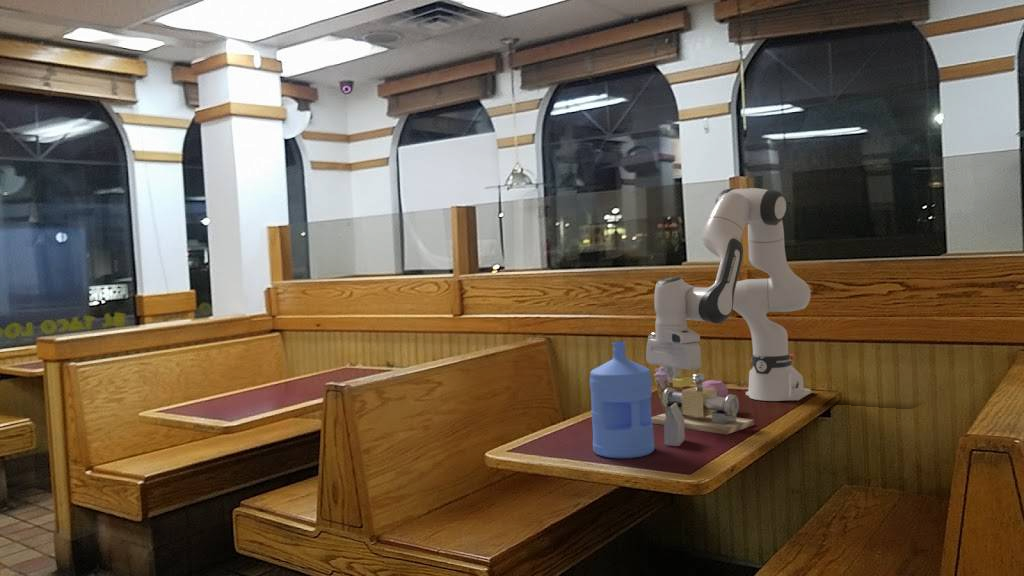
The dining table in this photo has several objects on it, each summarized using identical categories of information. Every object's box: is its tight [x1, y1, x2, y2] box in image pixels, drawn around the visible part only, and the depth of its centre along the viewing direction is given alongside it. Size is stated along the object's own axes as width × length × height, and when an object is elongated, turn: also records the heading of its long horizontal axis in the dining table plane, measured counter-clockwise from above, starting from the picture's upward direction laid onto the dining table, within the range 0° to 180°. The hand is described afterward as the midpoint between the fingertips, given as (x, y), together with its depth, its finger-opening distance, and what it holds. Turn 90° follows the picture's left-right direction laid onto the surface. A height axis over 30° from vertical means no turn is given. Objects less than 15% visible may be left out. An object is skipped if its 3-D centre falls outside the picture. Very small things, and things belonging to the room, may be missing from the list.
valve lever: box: [673, 373, 706, 388], centre depth 236 cm, size 12×3×2 cm, turn 133°
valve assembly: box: [651, 382, 755, 436], centre depth 239 cm, size 14×26×12 cm, turn 43°
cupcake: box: [702, 379, 729, 398], centre depth 254 cm, size 9×9×10 cm
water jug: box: [589, 341, 655, 459], centre depth 212 cm, size 16×16×28 cm
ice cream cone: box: [653, 366, 674, 412], centre depth 259 cm, size 7×6×15 cm
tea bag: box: [663, 403, 686, 447], centre depth 219 cm, size 4×7×10 cm, turn 155°
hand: (673, 382), depth 237 cm, fingers closed
